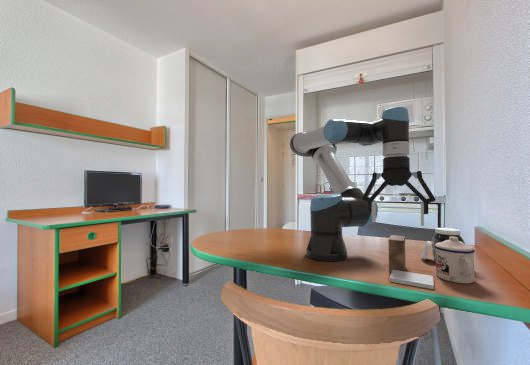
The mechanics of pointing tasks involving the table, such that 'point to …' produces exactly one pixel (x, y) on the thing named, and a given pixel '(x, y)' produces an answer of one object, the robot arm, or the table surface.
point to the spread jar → (441, 239)
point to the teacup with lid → (455, 261)
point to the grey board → (412, 279)
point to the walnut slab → (397, 253)
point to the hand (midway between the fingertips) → (397, 223)
